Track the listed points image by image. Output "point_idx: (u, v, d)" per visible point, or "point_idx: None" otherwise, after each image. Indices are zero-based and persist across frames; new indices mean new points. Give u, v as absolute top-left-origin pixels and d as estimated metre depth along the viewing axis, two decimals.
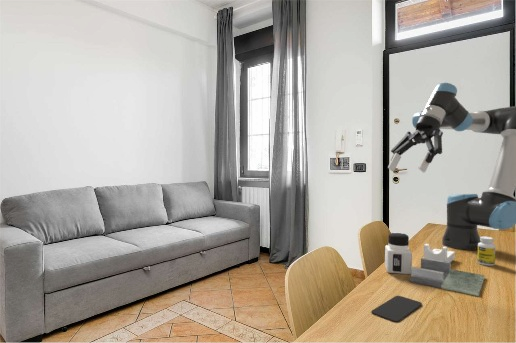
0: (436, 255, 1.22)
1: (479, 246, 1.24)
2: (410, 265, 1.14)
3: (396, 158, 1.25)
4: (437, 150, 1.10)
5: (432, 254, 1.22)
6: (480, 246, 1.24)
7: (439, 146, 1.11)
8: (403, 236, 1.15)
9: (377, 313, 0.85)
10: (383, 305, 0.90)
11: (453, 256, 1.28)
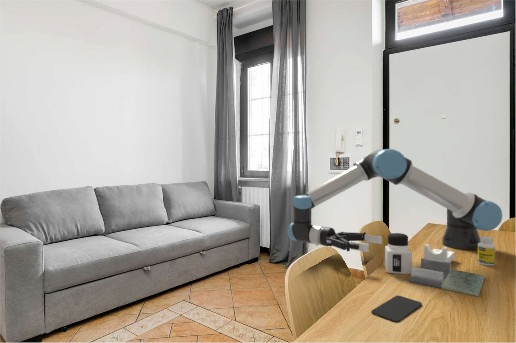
0: (436, 255, 1.21)
1: (479, 246, 1.24)
2: (410, 265, 1.14)
3: (369, 239, 1.31)
4: (345, 248, 1.20)
5: (432, 254, 1.22)
6: (480, 246, 1.24)
7: (340, 246, 1.21)
8: (402, 236, 1.15)
9: (377, 313, 0.85)
10: (383, 305, 0.90)
11: (453, 256, 1.27)
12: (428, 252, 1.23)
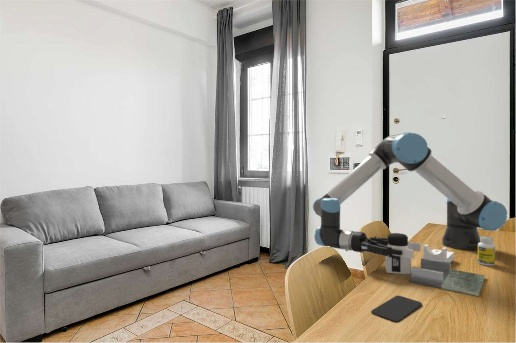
0: (436, 256, 1.21)
1: (479, 246, 1.24)
2: (409, 265, 1.13)
3: None
4: (387, 254, 1.13)
5: (432, 255, 1.22)
6: (480, 246, 1.24)
7: (381, 252, 1.14)
8: (402, 236, 1.15)
9: (377, 313, 0.85)
10: (383, 305, 0.90)
11: (452, 257, 1.27)
12: (427, 252, 1.22)
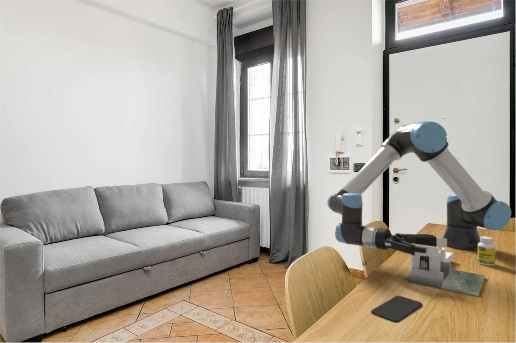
0: None
1: (479, 246, 1.24)
2: (439, 268, 1.08)
3: None
4: (410, 252, 1.06)
5: None
6: (480, 246, 1.24)
7: (404, 249, 1.08)
8: (430, 237, 1.09)
9: (377, 313, 0.85)
10: (383, 305, 0.90)
11: (451, 257, 1.26)
12: None
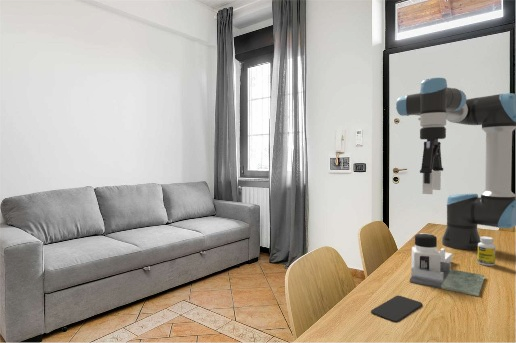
0: None
1: (479, 246, 1.24)
2: (439, 268, 1.08)
3: (434, 176, 1.16)
4: (423, 170, 1.03)
5: None
6: (480, 246, 1.24)
7: (425, 164, 1.03)
8: (430, 237, 1.09)
9: (376, 313, 0.86)
10: (383, 305, 0.90)
11: (451, 258, 1.26)
12: None
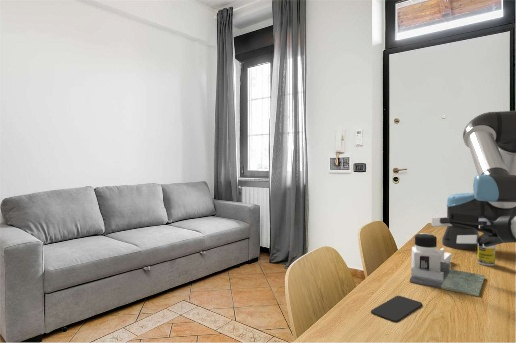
0: None
1: (479, 246, 1.24)
2: (439, 268, 1.08)
3: None
4: None
5: None
6: None
7: None
8: (430, 237, 1.09)
9: (376, 313, 0.86)
10: (383, 305, 0.90)
11: (450, 258, 1.26)
12: None
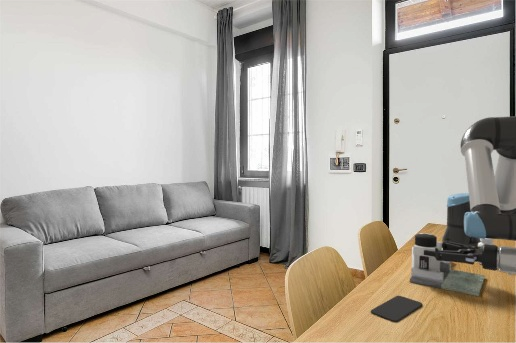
0: None
1: (479, 246, 1.24)
2: (438, 268, 1.08)
3: None
4: None
5: None
6: (480, 246, 1.24)
7: None
8: (430, 237, 1.09)
9: (376, 312, 0.86)
10: (383, 305, 0.90)
11: None
12: None
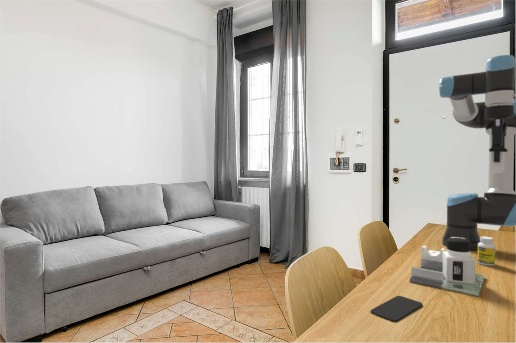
0: (434, 257, 1.19)
1: (479, 246, 1.24)
2: (473, 274, 1.02)
3: None
4: None
5: (430, 256, 1.20)
6: (480, 246, 1.24)
7: None
8: (464, 241, 1.04)
9: (376, 312, 0.86)
10: (383, 305, 0.90)
11: None
12: (426, 254, 1.21)
